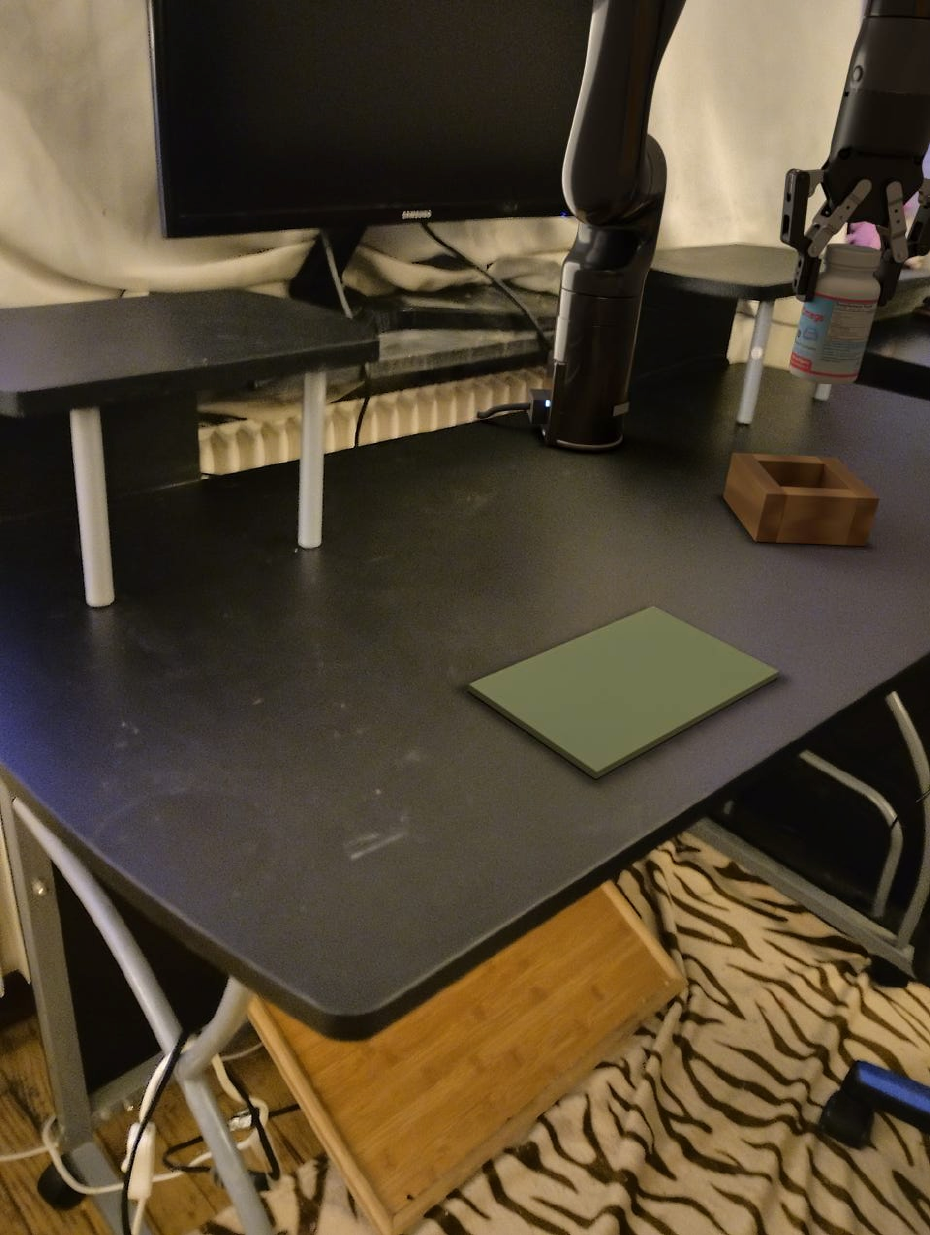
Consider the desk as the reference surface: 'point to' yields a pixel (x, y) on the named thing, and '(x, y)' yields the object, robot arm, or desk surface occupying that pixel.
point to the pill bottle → (837, 316)
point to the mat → (622, 688)
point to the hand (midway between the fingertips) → (839, 302)
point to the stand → (799, 499)
